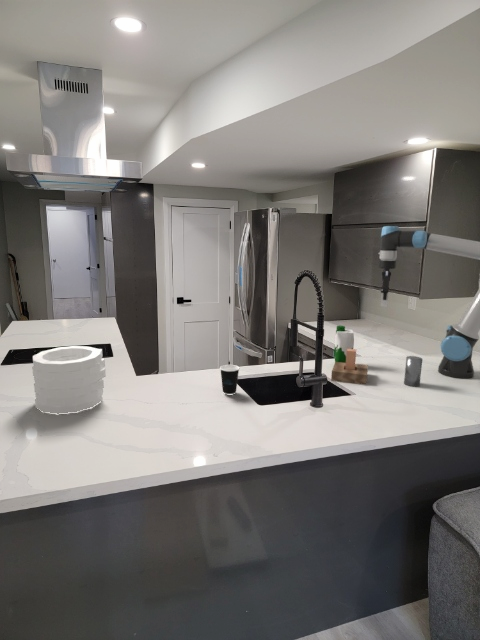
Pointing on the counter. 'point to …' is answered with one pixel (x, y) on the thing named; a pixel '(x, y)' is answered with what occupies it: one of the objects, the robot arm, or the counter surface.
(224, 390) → the dixie cup
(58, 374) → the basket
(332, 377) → the socket block
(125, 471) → the counter surface
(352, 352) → the square peg
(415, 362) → the round post
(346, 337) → the milk carton
